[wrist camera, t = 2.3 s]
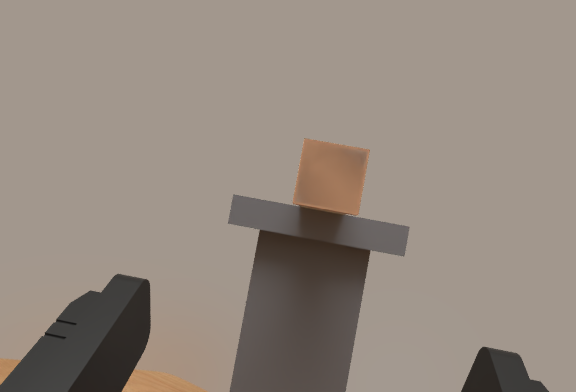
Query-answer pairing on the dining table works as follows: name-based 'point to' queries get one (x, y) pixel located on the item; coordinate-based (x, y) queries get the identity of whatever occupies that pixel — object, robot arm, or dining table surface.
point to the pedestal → (304, 294)
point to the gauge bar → (331, 177)
